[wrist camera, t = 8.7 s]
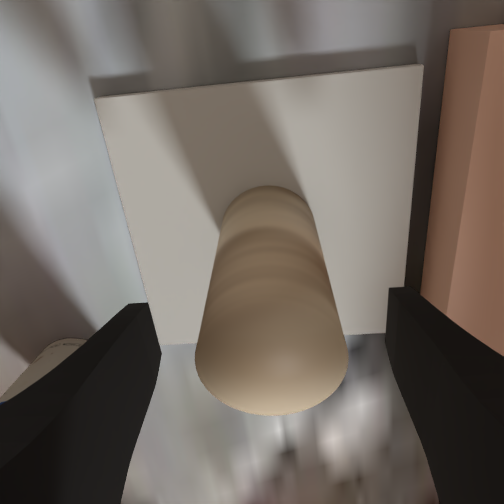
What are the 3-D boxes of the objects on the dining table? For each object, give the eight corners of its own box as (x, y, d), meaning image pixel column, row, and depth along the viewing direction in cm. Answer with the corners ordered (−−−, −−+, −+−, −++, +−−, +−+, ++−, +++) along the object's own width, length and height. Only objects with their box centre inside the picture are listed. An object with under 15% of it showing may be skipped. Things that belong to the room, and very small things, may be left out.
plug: (316, 266, 19) (347, 412, 12) (228, 272, 19) (207, 419, 12) (313, 181, 17) (349, 295, 10) (215, 190, 17) (182, 306, 10)
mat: (396, 324, 21) (399, 331, 20) (162, 337, 22) (159, 345, 21) (418, 63, 15) (423, 65, 15) (99, 96, 16) (93, 99, 16)
